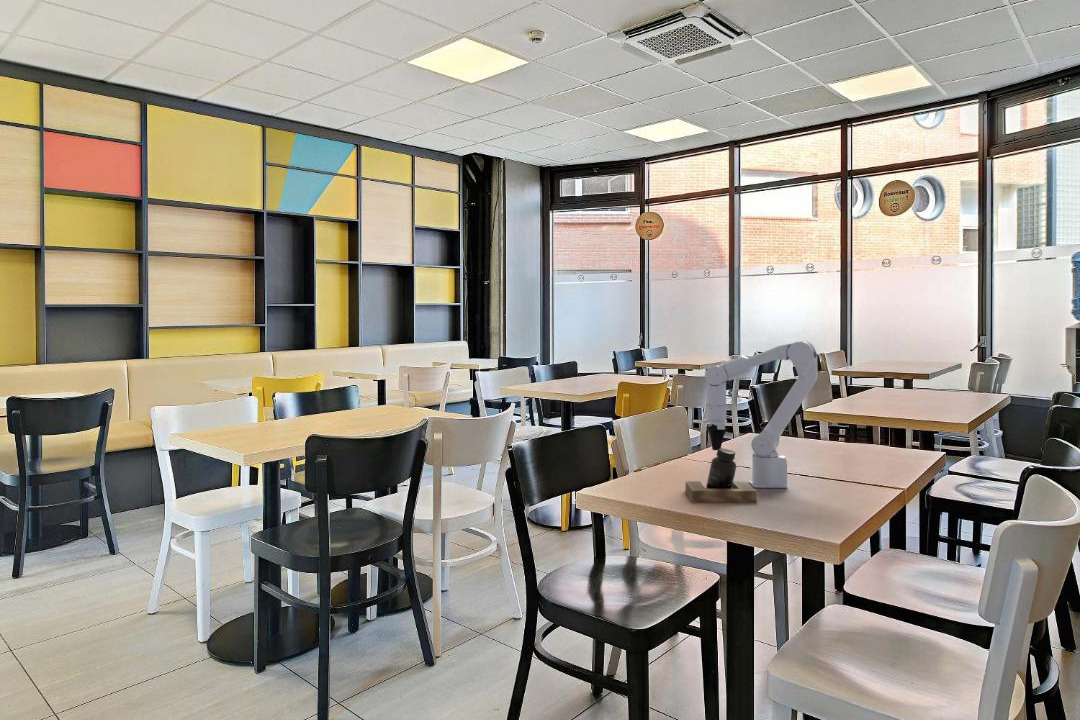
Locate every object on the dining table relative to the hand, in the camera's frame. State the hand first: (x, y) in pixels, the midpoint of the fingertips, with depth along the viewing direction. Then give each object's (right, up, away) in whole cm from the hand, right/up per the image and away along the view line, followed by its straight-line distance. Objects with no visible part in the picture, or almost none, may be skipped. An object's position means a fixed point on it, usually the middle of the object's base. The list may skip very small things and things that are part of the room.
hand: (716, 449), depth 211 cm
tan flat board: (-4, -10, -20) cm, 23 cm away
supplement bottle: (-4, -10, -16) cm, 19 cm away
